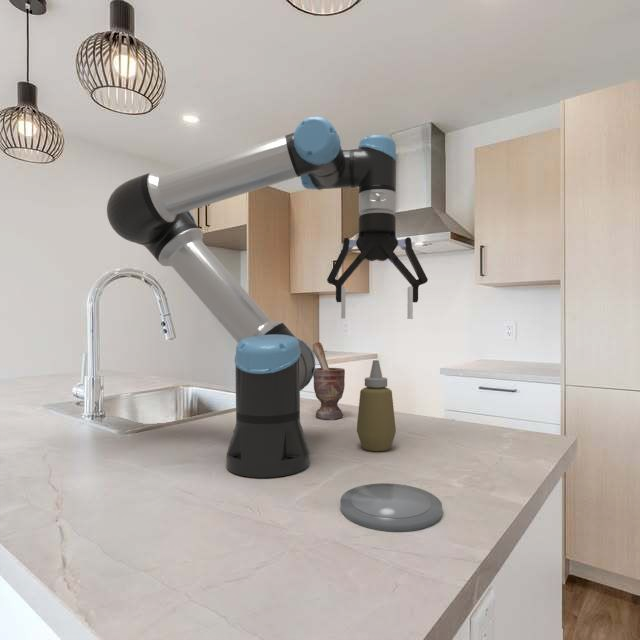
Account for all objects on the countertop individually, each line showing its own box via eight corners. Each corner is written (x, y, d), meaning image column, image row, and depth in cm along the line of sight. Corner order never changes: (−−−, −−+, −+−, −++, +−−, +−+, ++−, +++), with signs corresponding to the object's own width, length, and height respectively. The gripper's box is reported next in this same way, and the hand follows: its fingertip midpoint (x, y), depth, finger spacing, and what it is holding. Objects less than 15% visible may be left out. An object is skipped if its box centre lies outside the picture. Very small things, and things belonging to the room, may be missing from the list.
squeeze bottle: (392, 442, 98) (391, 358, 98) (400, 453, 90) (399, 362, 90) (354, 443, 98) (354, 358, 98) (359, 454, 90) (358, 362, 90)
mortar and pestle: (298, 415, 126) (298, 343, 126) (319, 411, 132) (318, 341, 132) (331, 422, 118) (330, 344, 118) (351, 416, 125) (350, 343, 125)
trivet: (337, 529, 58) (337, 520, 58) (342, 488, 72) (342, 481, 72) (451, 533, 57) (451, 524, 57) (433, 491, 71) (433, 484, 71)
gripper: (314, 211, 91) (314, 318, 92) (442, 209, 89) (441, 319, 89) (318, 219, 99) (317, 318, 99) (436, 218, 97) (435, 318, 97)
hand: (376, 318), depth 94 cm, fingers open, 13 cm apart
